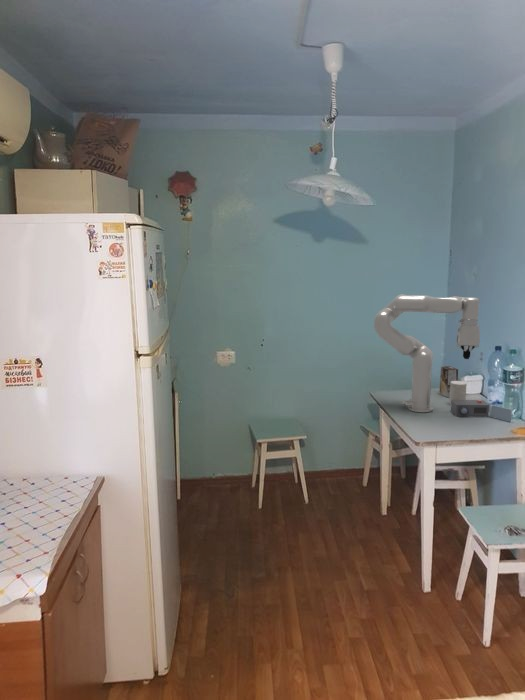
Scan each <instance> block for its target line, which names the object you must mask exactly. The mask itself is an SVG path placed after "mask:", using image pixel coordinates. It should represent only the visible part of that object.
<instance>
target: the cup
mask: <svg viewBox="0 0 525 700" xmlns="http://www.w3.org/2000/svg"><path fill="white" fill-rule="evenodd" d="M466 397H467V382H466V381H462V380H458V381H451V383H450V397H449V405H450V406H451V400H467V399H466Z"/></svg>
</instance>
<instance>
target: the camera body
mask: <svg viewBox="0 0 525 700" xmlns="http://www.w3.org/2000/svg"><path fill="white" fill-rule="evenodd" d="M450 412H451V413H452V414H453V415H454V416H455V417H484V416H487V417H490V404H488V402H486V401H485V400H483V399H466V400H451V405H450Z"/></svg>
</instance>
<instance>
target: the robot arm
mask: <svg viewBox="0 0 525 700" xmlns="http://www.w3.org/2000/svg"><path fill="white" fill-rule="evenodd" d="M460 311H461V318H460V319H458V323H459V327H458V330H457V334H456V335H457V336H456V344H455V347H457V348H461V349H462V358H463V359H465V360H469V359H470V357H471V352H472V351H473V350H474V349H475V348H479V347H480V346H479V345H480V342H481V341H480V337H481V332H480V330H481V329H480V326H479V325H478V322H479V321H478V320H479V311H480V299H479V298H478V297H473V296H472V297H471V296H469V297H462V296H458V295H457V296H455V295H453V296H450V297H435V296H430V295H425V294H422V295H421V294H419V295H416V294H415V295H411V294H410V295H409V294H403V293H401V294H398V295H397V296H395V297H394V298H393V300H392V301H390V302H389V303H388V304H387V305H386V306H385V307H383V308H382V309H381V310H379V311H378V312H377V313H376V314H375V317H374V320H373V328H374V332H375V333H376V334H377V336H378V337H379V338H380V339H382V340H383V341H384V342H385V343H387V344H388V345H389V346H390V347H392V348H393V349H395V351H397V352H398V353H399V354H401V355H402V356H409V357H410V358H412V368H411V369H412V370H411V371H412V374H411V377H412V378H411V398H410V399H409V400H407V401H405V400H404V401H402V400H401V405H402V406H406V407H407V409H408V410H409V411H412V412H415V413H431V412H433V411H434V408H433V406H432V405H431V394H432V393H431V391H432V372H433V371H432V369H433V368H432V367H433V359H434V353H433V351H432V350H431V349H430V348H429V347H427V346H426V345H425V344H424V343H422V341H419V340H418V339H417V338H415V337H414V336H412V335H410V334H403V333H402V332H400V331H399V330H398V329H396V328H395V327H394V326H393V325H392V323H393V322H394V321H395V320H396V319H397V318H398V317H400V316H401V315H402V314H403V313H431V314H432V313H433V314H435V313H437V314H455V313H459V312H460Z"/></svg>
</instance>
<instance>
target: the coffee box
mask: <svg viewBox="0 0 525 700" xmlns="http://www.w3.org/2000/svg"><path fill="white" fill-rule="evenodd" d="M439 373H440V376H439V377H440V378H439V394H441V396H443V397H446V398H450V383H451V381H459V377H458V376H459V369H458V368H455V367H453V366H450V365H449V366H440V372H439Z"/></svg>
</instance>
